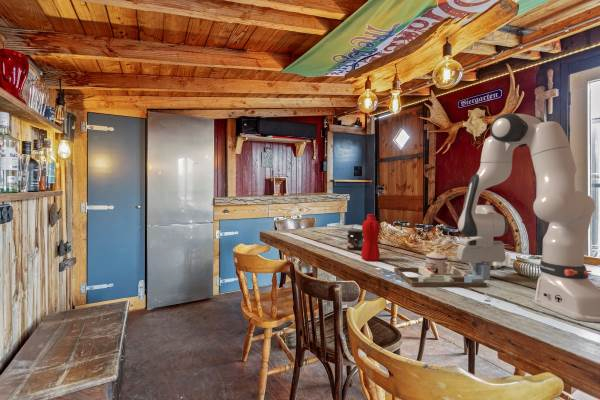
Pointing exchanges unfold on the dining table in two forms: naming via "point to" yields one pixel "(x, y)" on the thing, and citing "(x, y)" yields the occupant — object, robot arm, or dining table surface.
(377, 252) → the water bottle
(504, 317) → the dining table surface
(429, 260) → the teacup with lid
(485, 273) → the carriage
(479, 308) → the dining table surface
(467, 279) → the broken carriage
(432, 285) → the lane rails
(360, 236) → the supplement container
